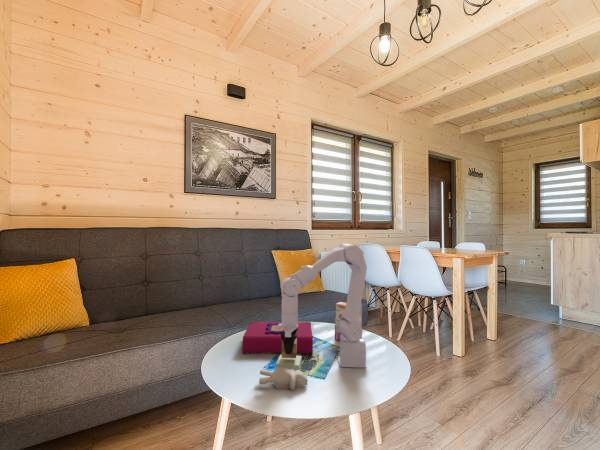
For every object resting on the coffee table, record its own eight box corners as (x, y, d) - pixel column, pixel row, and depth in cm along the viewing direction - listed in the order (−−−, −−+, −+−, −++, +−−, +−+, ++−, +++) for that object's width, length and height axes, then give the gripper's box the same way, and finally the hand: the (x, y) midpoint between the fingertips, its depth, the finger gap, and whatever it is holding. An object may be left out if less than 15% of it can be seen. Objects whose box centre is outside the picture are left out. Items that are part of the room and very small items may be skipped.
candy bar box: (334, 340, 138) (334, 303, 138) (338, 337, 143) (339, 301, 143) (357, 345, 132) (358, 307, 132) (362, 342, 136) (362, 304, 137)
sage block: (301, 365, 114) (301, 355, 114) (299, 375, 106) (299, 365, 106) (280, 364, 115) (280, 354, 115) (275, 374, 107) (276, 364, 107)
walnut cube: (296, 352, 113) (296, 338, 113) (296, 358, 108) (296, 343, 108) (282, 352, 113) (283, 338, 113) (281, 357, 108) (281, 343, 108)
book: (313, 355, 123) (313, 336, 123) (241, 355, 122) (242, 336, 122) (310, 337, 144) (310, 320, 144) (249, 336, 143) (250, 320, 143)
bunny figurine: (309, 379, 95) (260, 375, 93) (307, 396, 95) (258, 392, 93) (305, 365, 104) (261, 361, 103) (303, 381, 104) (259, 377, 103)
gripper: (280, 306, 118) (280, 342, 118) (276, 317, 103) (275, 358, 103) (299, 307, 118) (298, 343, 118) (297, 318, 103) (296, 359, 103)
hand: (289, 350), depth 110 cm, fingers closed on walnut cube, 5 cm apart
